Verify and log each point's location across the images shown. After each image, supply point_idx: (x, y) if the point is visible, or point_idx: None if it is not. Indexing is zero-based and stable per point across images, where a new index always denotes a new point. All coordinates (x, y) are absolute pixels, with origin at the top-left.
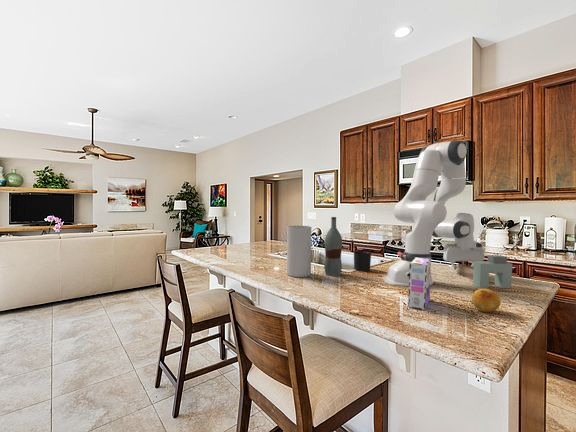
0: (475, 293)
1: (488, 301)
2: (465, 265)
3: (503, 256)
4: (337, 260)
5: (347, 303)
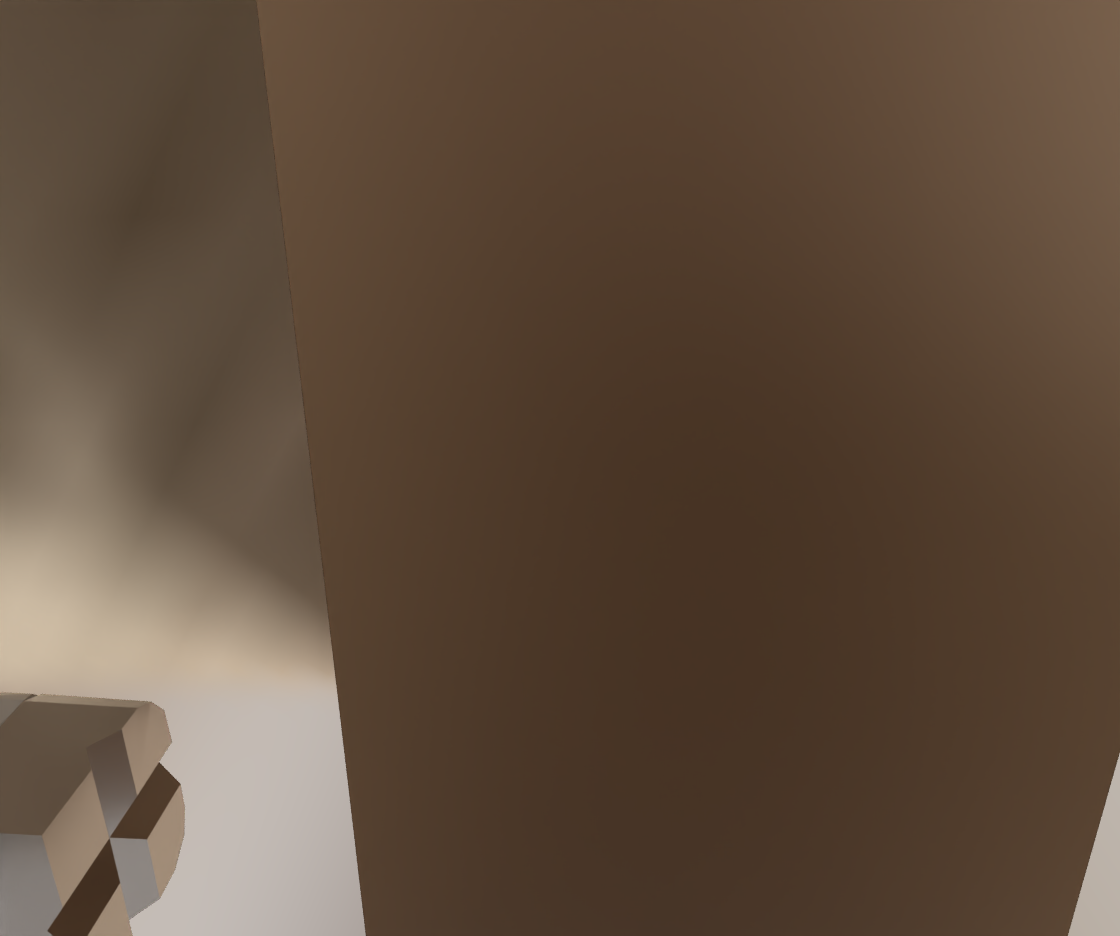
0: None
1: None
2: (556, 912)
3: None
4: None
5: None
